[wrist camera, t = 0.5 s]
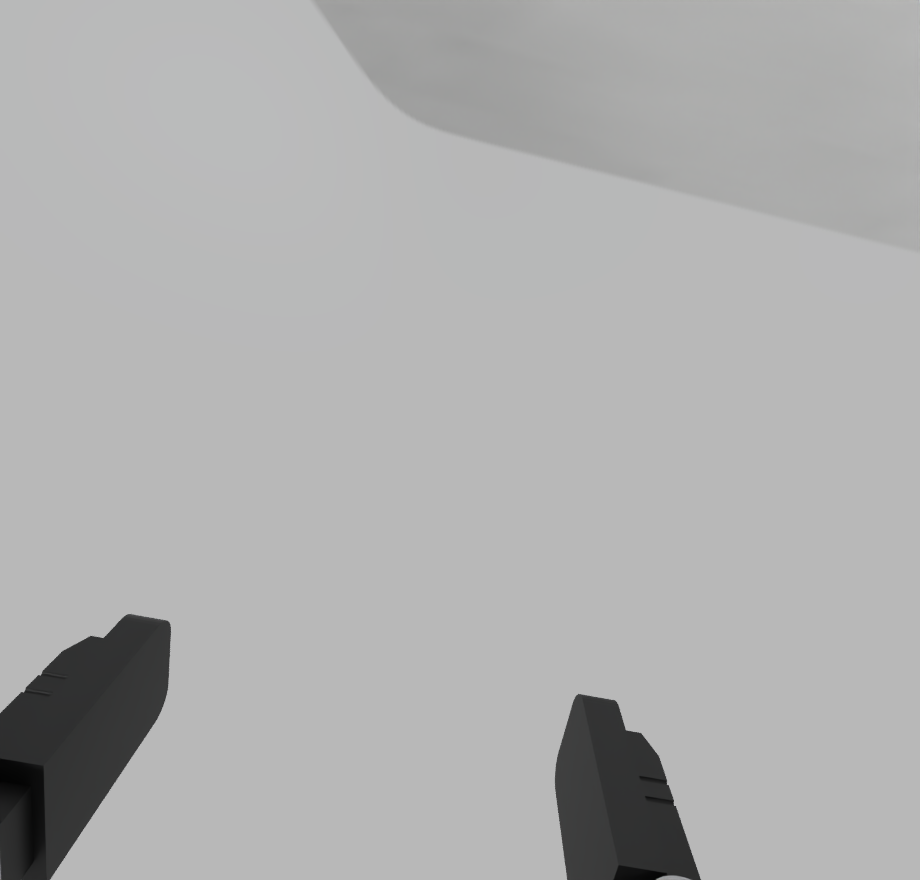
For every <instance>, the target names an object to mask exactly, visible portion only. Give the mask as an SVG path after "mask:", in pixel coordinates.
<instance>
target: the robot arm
mask: <svg viewBox="0 0 920 880" xmlns="http://www.w3.org/2000/svg"><path fill="white" fill-rule="evenodd" d="M170 637H171V627H170V623H169V622H168V621H166V620H160V619H154V618H149V617H143V616H137V615H132V614H128V615H126V616H124V617H123V618H122V619H121V620H120V621H119V622H118V623H117V625H116V626H115V627H114V628H113V629H112V630H111V631H110V632H109V633H108V634H107V635H106V636H105V637H104V638H100V637H94V636H90V637H88V638H86V639H84V640H83V641H81V642H79V643H77V644H75V645H73V646H71V647H70V648H68V649H66V650H64V651H62V652H61V653H60V654H59V655H58V656H57V657H56V658H55V659H54V660H53V661H52V662H51V663H50V664H49V665H48V666H47V667H46V668H45V669H44V670H43V672H42V674H41V676H40V675H38V676H37V677H36V678H35V679H34V680H33V681H32V682H31V683H30V684H29V685H28V686H27V687H26V690H25V692H24V693H23V692H21V693H20V694H19V695H18V696H17V697H16V698H15V699H14V700H13V701H12V702H11V703H10V704H9V705H8V706H7V707H6V708H5V709H4V710H3V711H2V712H1V713H0V880H50V879H51V877H52V876H53V874H54V873H55V871H56V870H57V868H58V867H59V865H60V864H61V862H62V861H63V859H64V858H65V856H66V855H67V853H68V852H69V850H70V849H71V847H72V846H73V844H74V843H75V841H76V840H77V838H78V837H79V835H80V834H81V832H82V831H83V829H84V828H85V826H86V825H87V823H88V822H89V820H90V819H91V817H92V816H93V814H94V813H95V811H96V810H97V808H98V807H99V805H100V804H101V802H102V801H103V799H104V798H105V796H106V795H107V793H108V792H109V790H110V789H111V787H112V786H113V784H114V783H115V781H116V780H117V778H118V777H119V775H120V774H121V772H122V771H123V769H124V768H125V766H126V765H127V763H128V762H129V760H130V759H131V757H132V756H133V754H134V753H135V751H136V750H137V749H138V747H139V746H140V744H141V743H142V741H143V740H144V738H145V737H146V735H147V734H148V732H149V731H150V729H151V728H152V726H153V725H154V723H155V721H156V720H157V718H158V716H159V714H160V712H161V710H162V707H163V704H164V701H165V698H166V695H167V690H168V678H169V657H170ZM555 789H556V798H557V805H558V813H559V821H560V828H561V835H562V843H563V850H564V858H565V865H566V873H567V880H701V879H700V876H699V873H698V870H697V867H696V864H695V862H694V859H693V856H692V853H691V850H690V847H689V844H688V841H687V838H686V835H685V832H684V829H683V826H682V823H681V820H680V818H679V814H678V812H677V809H676V806H674V803H673V802H674V800H673V797H672V794H671V791H670V788H669V785H667V779H666V776H665V773H664V770H663V767H662V764H661V761H660V758H659V756H658V755H657V753H656V752H655V751H654V749H653V748H652V747H651V746H650V744H649V743H648V742H647V740H646V739H645V738H644V737H643V735H642V734H641V733H637V732H631V731H626V730H625V726H624V723H623V720H622V716H621V713H620V709H619V706H618V704H617V702H616V701H615V700H609V699H604V698H598V697H592V696H587V695H581V694H578V695H577V696H576V697H575V699H574V702H573V705H572V708H571V712H570V716H569V719H568V722H567V726H566V729H565V732H564V736H563V739H562V743H561V746H560V750H559V753H558V757H557V763H556V772H555Z"/></svg>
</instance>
